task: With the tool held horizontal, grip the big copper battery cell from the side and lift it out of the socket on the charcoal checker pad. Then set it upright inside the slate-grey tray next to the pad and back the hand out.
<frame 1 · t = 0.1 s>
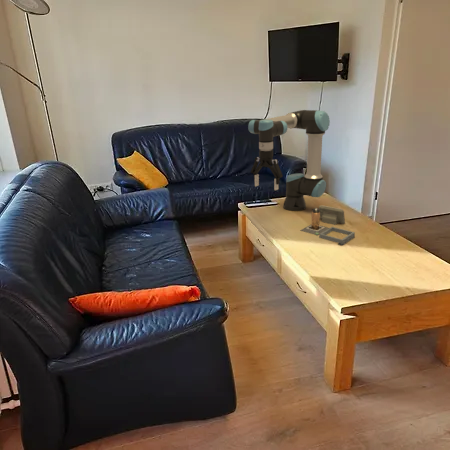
hand: (266, 187, 220), 28 cm above the table, tool pointing down, fingers open, 13 cm apart
tray: (336, 238, 221), on the table
checker pad: (315, 230, 232), on the table
cell: (315, 229, 231), point 1 cm above the table, touching checker pad
digital clock: (331, 223, 242), on the table
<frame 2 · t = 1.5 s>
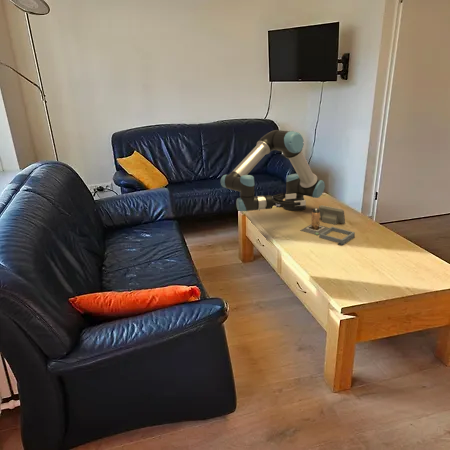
hand: (300, 199, 223), 20 cm above the table, tool horizontal, fingers open, 13 cm apart
nothing on the table moved.
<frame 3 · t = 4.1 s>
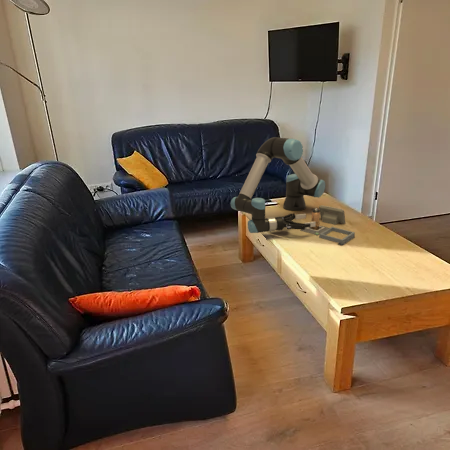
hand: (310, 219, 228), 7 cm above the table, tool horizontal, fingers open, 13 cm apart
nothing on the table moved.
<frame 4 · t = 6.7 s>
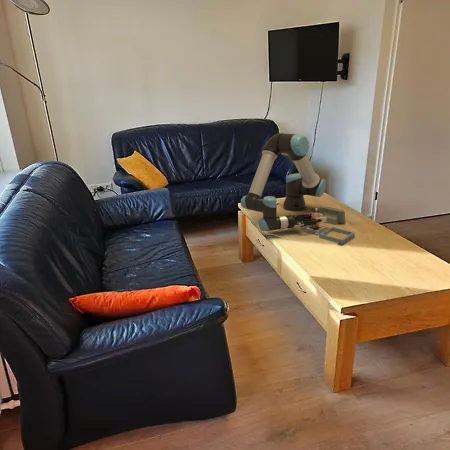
hand: (324, 217, 230), 8 cm above the table, tool horizontal, fingers closed on cell, 4 cm apart
cell: (315, 229, 231), point 1 cm above the table, touching checker pad, gripper
everything else where it was.
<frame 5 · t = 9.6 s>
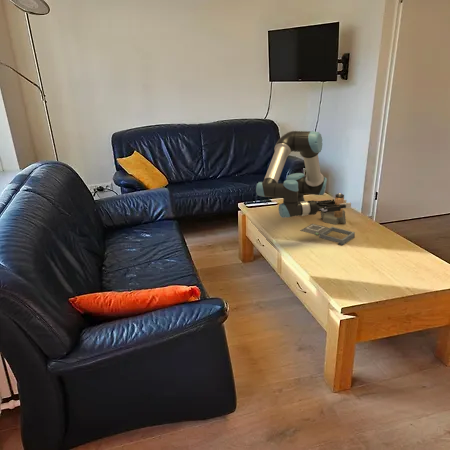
hand: (348, 203, 214), 20 cm above the table, tool horizontal, fingers closed on cell, 4 cm apart
cell: (338, 216, 216), point 13 cm above the table, touching gripper
everything else where it was.
when the fingers open (9 cm above the table, at t = 12.7 s): cell drops 1 cm, resting on tray.
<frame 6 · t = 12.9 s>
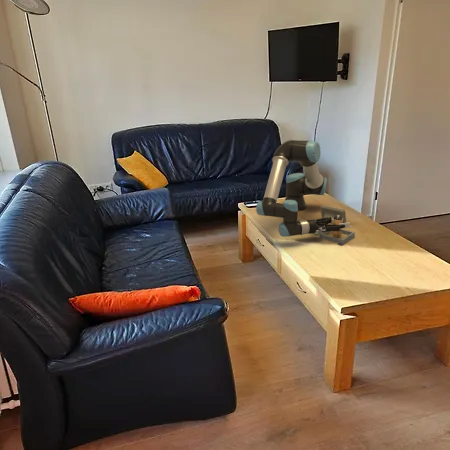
hand: (346, 222, 218), 9 cm above the table, tool horizontal, fingers open, 7 cm apart
cell: (336, 236, 220), point 1 cm above the table, touching tray
everything else where it was.
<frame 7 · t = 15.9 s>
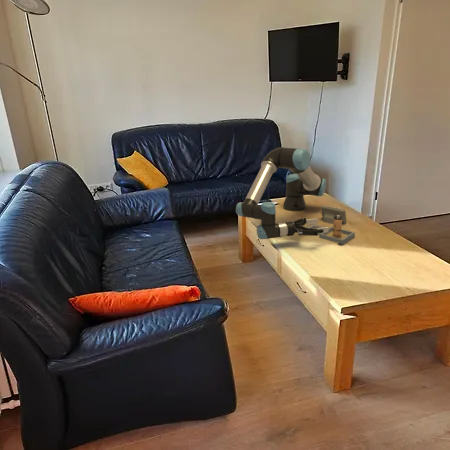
hand: (322, 225, 216), 9 cm above the table, tool horizontal, fingers open, 13 cm apart
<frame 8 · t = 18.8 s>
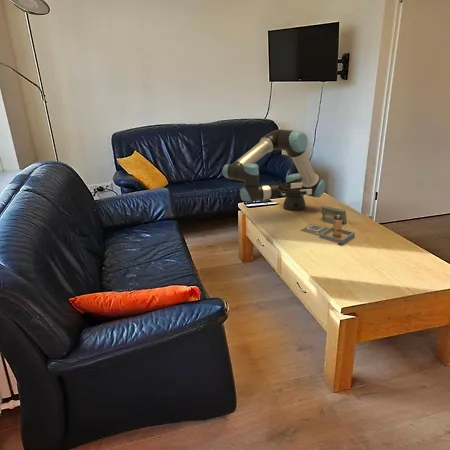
hand: (306, 188, 216), 28 cm above the table, tool horizontal, fingers open, 13 cm apart
at the end: cell inside the target area on the tray (0.1 cm from its centre), point 0.8 cm above the tray's base; cell tilted 0°; the gripper is holding nothing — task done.
